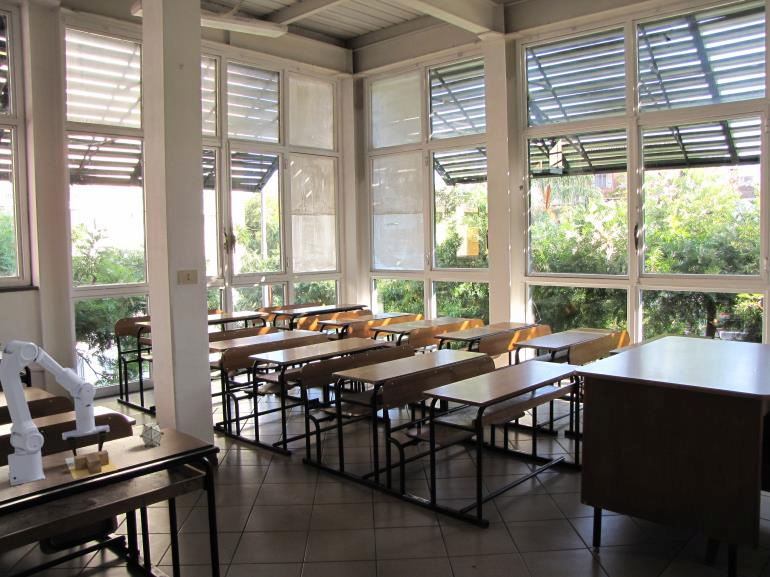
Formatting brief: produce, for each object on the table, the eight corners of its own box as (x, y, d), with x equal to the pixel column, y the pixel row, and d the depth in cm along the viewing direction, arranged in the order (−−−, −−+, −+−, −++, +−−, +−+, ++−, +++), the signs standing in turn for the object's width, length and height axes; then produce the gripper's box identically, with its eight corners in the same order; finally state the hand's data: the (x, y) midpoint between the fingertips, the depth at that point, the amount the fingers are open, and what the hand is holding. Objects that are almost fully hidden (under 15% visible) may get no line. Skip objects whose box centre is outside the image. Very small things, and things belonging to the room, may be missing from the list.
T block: (78, 476, 208) (77, 464, 207) (74, 468, 216) (73, 456, 216) (112, 469, 213) (111, 457, 213) (107, 461, 221) (106, 450, 221)
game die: (155, 456, 237) (153, 440, 230) (135, 448, 238) (132, 431, 232) (169, 438, 244) (168, 421, 237) (149, 430, 245) (148, 413, 239)
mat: (73, 479, 206) (73, 478, 206) (64, 459, 226) (64, 458, 226) (117, 470, 213) (117, 469, 213) (105, 451, 233) (105, 450, 233)
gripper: (62, 423, 216) (65, 463, 217) (109, 415, 223) (112, 454, 224) (60, 418, 222) (63, 457, 223) (106, 411, 229) (109, 449, 230)
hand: (87, 455), depth 224 cm, fingers open, 7 cm apart
